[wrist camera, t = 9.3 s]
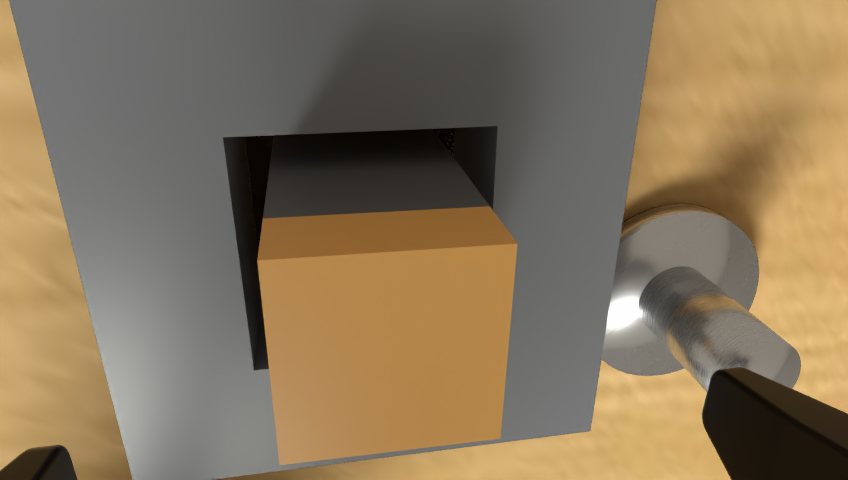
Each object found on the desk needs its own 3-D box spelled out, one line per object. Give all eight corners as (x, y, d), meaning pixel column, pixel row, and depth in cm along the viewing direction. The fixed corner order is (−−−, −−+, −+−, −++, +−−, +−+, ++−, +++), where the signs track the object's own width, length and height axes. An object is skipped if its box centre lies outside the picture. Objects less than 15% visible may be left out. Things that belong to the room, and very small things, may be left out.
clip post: (722, 352, 23) (826, 452, 18) (565, 370, 22) (635, 479, 17) (761, 198, 20) (894, 269, 16) (585, 209, 19) (673, 290, 15)
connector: (423, 251, 19) (500, 438, 12) (286, 260, 18) (279, 465, 11) (425, 119, 17) (517, 243, 10) (275, 123, 16) (257, 260, 9)
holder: (540, 349, 21) (590, 430, 17) (165, 387, 19) (135, 489, 15) (581, -42, 16) (662, -40, 12) (74, -45, 14) (-2, -43, 10)
